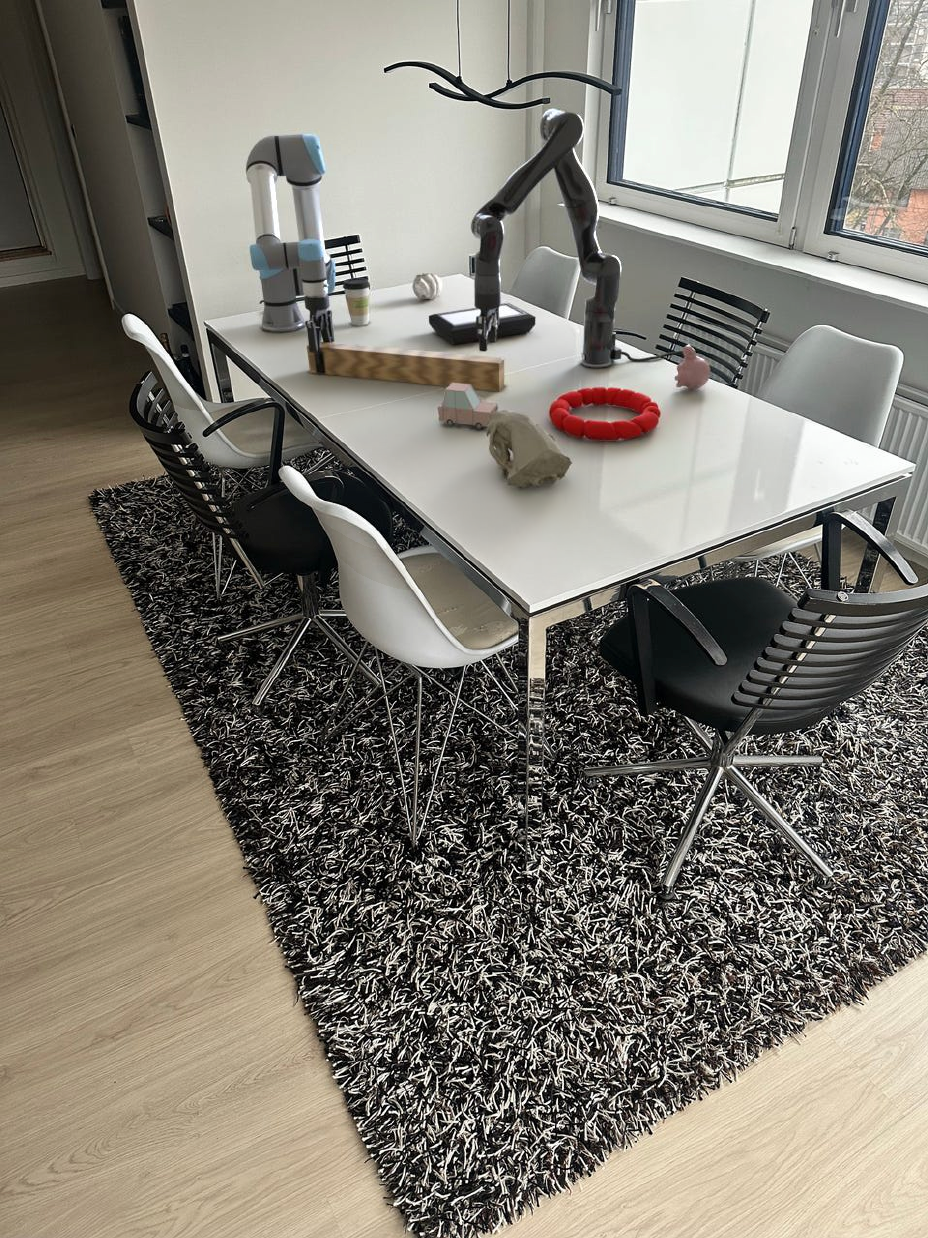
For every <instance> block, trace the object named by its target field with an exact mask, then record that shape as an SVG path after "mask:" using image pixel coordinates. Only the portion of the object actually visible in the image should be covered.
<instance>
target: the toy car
mask: <svg viewBox="0 0 928 1238" xmlns="http://www.w3.org/2000/svg"><path fill="white" fill-rule="evenodd" d="M498 409H499V404H498V403H497V402H490V401H489V402H487V401H483V397H481V396H480V395H479V394H478V393H477V391H476V389H473V387H472V386H471V385H470V384H460V383H451V384H450V385H449V386H446V388H445V389H444V394H443V399H442V403H440V404H439V405H438V406H437V413H438V421H439V422H443V423H446V425H447V426H448V427H452V426H454V425H455V424H461V425H469V426H473V427H475V429H476V430H479V431H480V430H481V429H483V428H485V427H486V428H487V423H488V422H490V414H491V413H492V412H496V411H499V410H498Z"/></svg>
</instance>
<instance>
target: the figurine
mask: <svg viewBox="0 0 928 1238" xmlns="http://www.w3.org/2000/svg"><path fill="white" fill-rule="evenodd" d="M682 351H683V353H684V354H683V358H684V359H683V361H682V362H679V363H678V364H677V365H676V372H677V375H675V376H674V381H675V382H676V381H677V382H676V384H675V386H676V388H681V387H686V388H688V389H693V390H694V389H695V390H696V389H700V388H703V387H704V386H705V385H706V384H707V383H708V382H709V379H710V377H711V367H710V364H709V362H708V361H706V359H704V358H702V357H700V356H697V353H696V350H695V349H694V347H692V345H690V344H686V345H685V346H684V347H683V348H682Z"/></svg>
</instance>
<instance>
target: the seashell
mask: <svg viewBox="0 0 928 1238" xmlns="http://www.w3.org/2000/svg"><path fill="white" fill-rule="evenodd" d="M411 288H412V291H413V293H414V295H415V296H416V297H417V298H418V299H420V300H426V299H428V300H432V299H435V298H437V297H438V296H439V295H440V294H441V291H442V289H443V282H442V280H441V278H440V276H437V275H436V273H429V272H428V273H427V272H426V273H424V272H423V273H422V274H416V275H415V278H414V279H413V282H412V287H411Z"/></svg>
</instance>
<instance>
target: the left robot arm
mask: <svg viewBox="0 0 928 1238" xmlns="http://www.w3.org/2000/svg"><path fill="white" fill-rule="evenodd" d="M326 171H327V169H326V166H325V160H324V155H323V151H322V147H321V143H320V139H319V137H318V136H317V135H316V134H313V133H307V134H306V133H299V134H282V135H281V134H280V135H267V136H265V137H263V138H261V139H260V140H259V141H257V143H255V144H254V146H253V148H252V149H251V150H250V152H249V155H248V157H247V159H246V163H245V174H246V175H245V176H246V181H248V183H249V185H250V192H251V202H252V213H253V223H254V234H255V235H254V237H255V243H254V244H250V246H249V256H250V261H251V267H252V269H253V270H254V271H259V280H260V285H261V286H260V287H261V292H262V300H260V301H259V305H260V304H262V303H263V313H262V319H261V326H262V330H264V331H265V332H271V333H286V332H293V331H296V330H297V331H298V330H300V329H302V328H304V326H305V327H306V334H307V340H308V345H309V350H310V353H314V356H315V364H316V372H317V373H316V374H319V373H325V366H324V357H323V352H321V342H328V343H335V331H334V323H333V310H332V309H329V308H330V306H331V304H330V295H329V294H332V293H333V292H334V291H335V287H336V262H335V259H334V258H332V257H331V255H330V253H329V252H328V251H327V250H326V246H325V238H324V228H323V227H324V226H323V219H322V210H321V200H320V190H319V184H320V183H321V182H322V180H323V177H322V176H323V175H325V174H326ZM278 177H285V179H286V180H285V181H286V183H287V184H289V185H290V186H291V187H292V188H291V191H292V197H293V198H292V199H293V204H294V205H293V206H294V213H295V221H296V227H297V235H298V241H288V242H287V241H286V242H282V239H281V231H280V219H279V210H278V201H277V191H276V183H277V181H278ZM302 296H303V301H304V308H305V309H306V310H308V311H309V319H308V320H305V319H304V317H303V314H302V312H301V310H300V307H299V306H298V305H299V304H298V303H297V297H302Z"/></svg>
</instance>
